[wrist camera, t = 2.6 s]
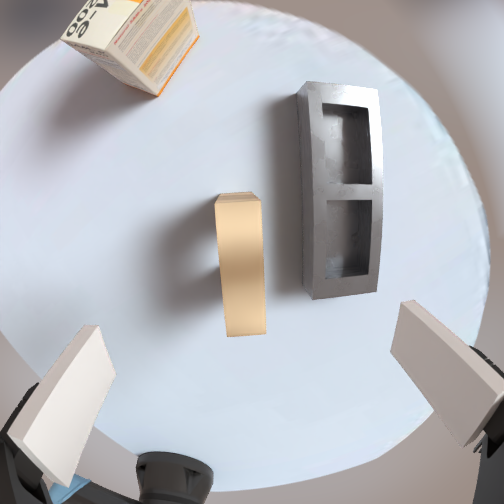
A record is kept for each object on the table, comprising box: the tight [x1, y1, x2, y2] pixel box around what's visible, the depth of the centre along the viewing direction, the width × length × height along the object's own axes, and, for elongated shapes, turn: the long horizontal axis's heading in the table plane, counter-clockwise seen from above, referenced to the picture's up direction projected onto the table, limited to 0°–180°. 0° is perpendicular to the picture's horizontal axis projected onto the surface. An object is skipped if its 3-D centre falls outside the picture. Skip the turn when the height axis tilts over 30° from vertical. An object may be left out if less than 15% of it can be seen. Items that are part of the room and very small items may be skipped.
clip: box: [215, 192, 266, 337], centre depth 23 cm, size 10×3×9 cm, turn 3°
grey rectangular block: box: [296, 81, 383, 300], centre depth 25 cm, size 20×7×4 cm, turn 3°
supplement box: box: [60, 0, 199, 97], centre depth 15 cm, size 8×5×13 cm, turn 151°
